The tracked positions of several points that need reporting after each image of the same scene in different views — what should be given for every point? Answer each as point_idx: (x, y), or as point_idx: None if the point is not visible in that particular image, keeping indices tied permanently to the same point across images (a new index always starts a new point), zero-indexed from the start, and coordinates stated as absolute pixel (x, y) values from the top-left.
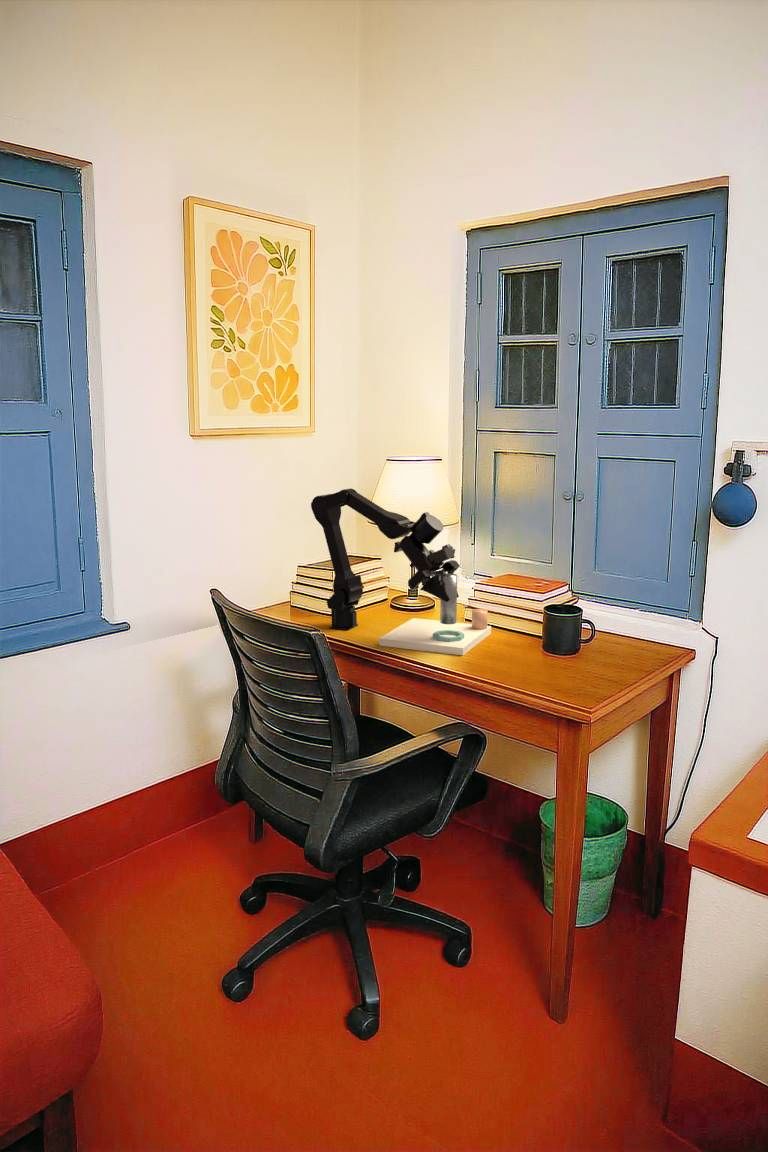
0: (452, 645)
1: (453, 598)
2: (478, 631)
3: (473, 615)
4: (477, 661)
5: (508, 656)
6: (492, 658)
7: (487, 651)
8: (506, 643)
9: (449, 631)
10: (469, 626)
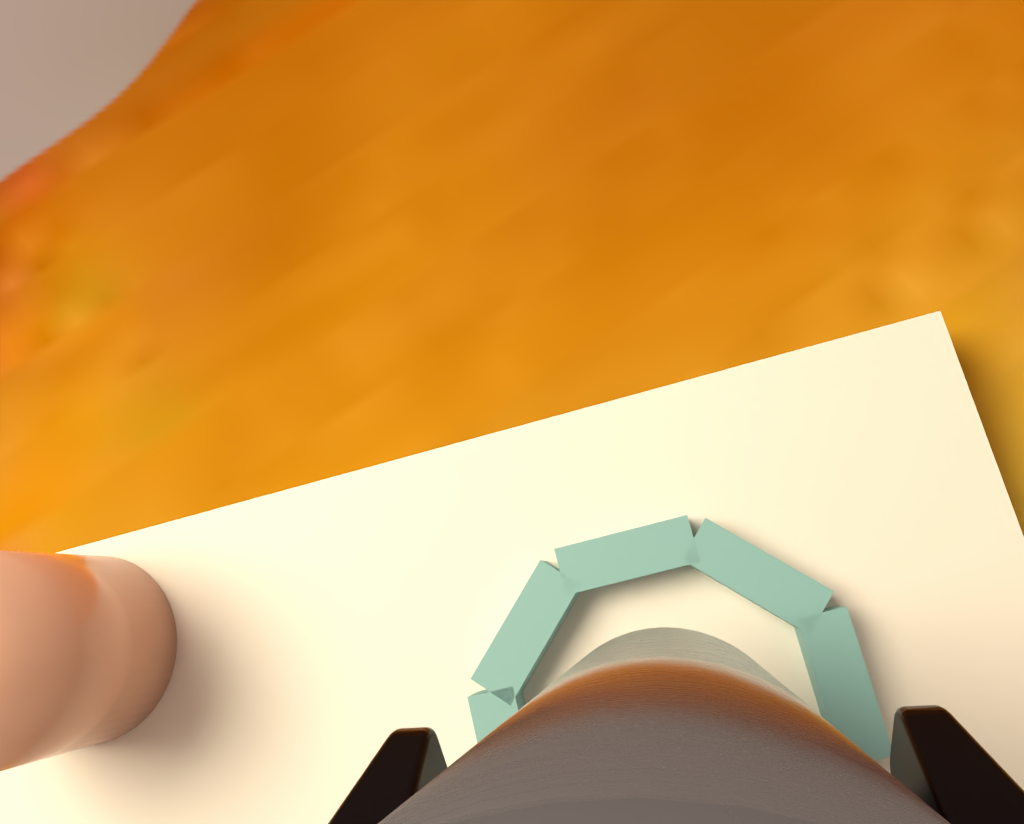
0: (933, 473)
1: (748, 672)
2: (232, 569)
3: (60, 704)
4: (957, 129)
5: (614, 19)
6: (768, 85)
7: (596, 252)
8: (253, 269)
9: None
10: (99, 783)
